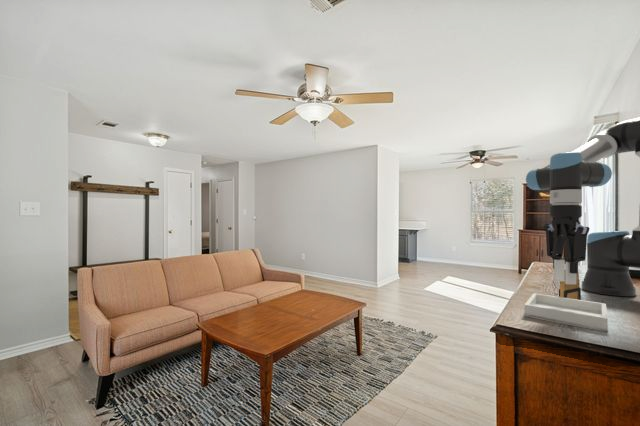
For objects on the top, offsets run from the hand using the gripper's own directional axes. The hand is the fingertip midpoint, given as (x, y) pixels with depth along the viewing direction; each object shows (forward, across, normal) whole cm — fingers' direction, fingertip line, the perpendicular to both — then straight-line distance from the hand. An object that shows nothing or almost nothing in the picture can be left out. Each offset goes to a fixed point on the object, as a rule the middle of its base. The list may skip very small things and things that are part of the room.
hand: (564, 282), depth 91 cm
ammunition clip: (+10, -13, +13) cm, 21 cm away
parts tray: (+10, 0, 0) cm, 10 cm away
